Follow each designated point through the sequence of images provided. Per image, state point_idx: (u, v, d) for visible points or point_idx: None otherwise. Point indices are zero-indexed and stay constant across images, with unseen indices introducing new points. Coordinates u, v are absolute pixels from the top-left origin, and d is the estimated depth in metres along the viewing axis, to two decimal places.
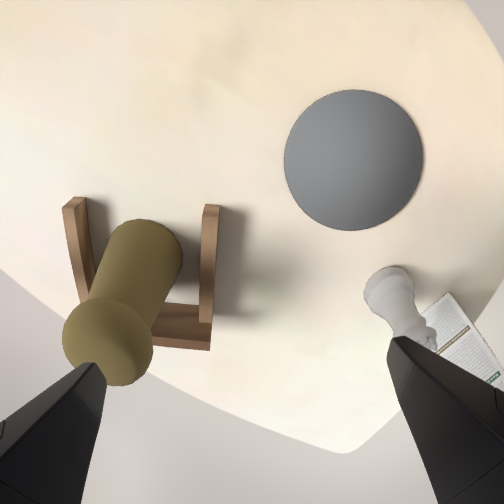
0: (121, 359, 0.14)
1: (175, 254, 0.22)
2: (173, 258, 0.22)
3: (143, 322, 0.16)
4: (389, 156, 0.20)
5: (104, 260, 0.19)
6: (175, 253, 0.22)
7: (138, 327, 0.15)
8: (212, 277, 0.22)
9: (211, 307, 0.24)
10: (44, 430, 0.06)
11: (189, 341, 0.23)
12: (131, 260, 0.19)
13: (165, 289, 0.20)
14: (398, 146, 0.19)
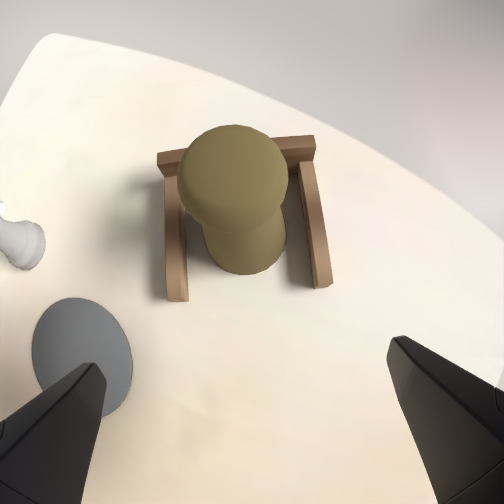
0: (196, 182, 0.13)
1: (207, 247, 0.22)
2: (207, 245, 0.22)
3: None
4: (56, 369, 0.21)
5: (270, 242, 0.19)
6: (208, 248, 0.22)
7: (191, 214, 0.15)
8: (166, 233, 0.22)
9: (165, 197, 0.23)
10: (44, 430, 0.06)
11: (177, 159, 0.21)
12: (236, 252, 0.19)
13: None
14: (53, 379, 0.21)
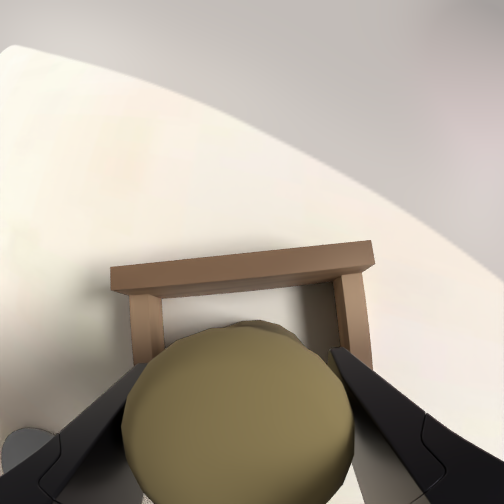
0: (163, 495, 0.05)
1: None
2: None
3: None
4: None
5: None
6: None
7: None
8: None
9: (132, 329, 0.14)
10: (108, 441, 0.05)
11: (142, 284, 0.13)
12: None
13: None
14: None
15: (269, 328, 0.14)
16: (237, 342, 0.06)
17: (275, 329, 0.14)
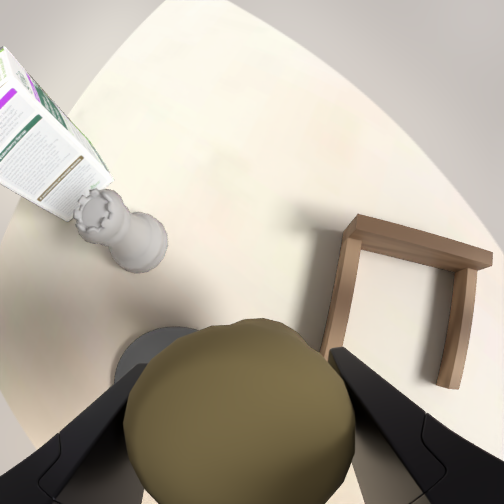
0: (164, 492, 0.05)
1: None
2: None
3: None
4: None
5: None
6: None
7: None
8: (337, 303, 0.20)
9: (345, 261, 0.20)
10: (108, 441, 0.05)
11: (379, 232, 0.19)
12: None
13: None
14: None
15: (272, 326, 0.14)
16: (238, 339, 0.06)
17: (278, 327, 0.14)
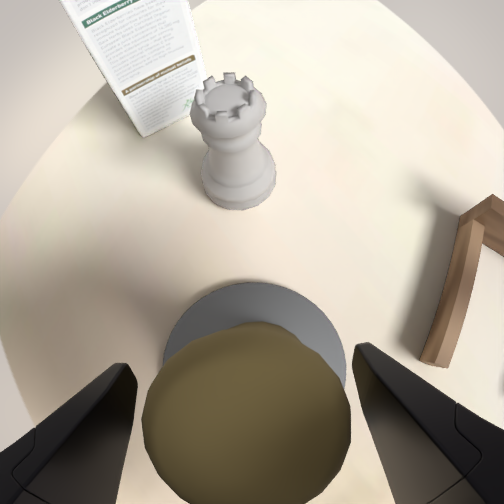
0: (181, 480, 0.05)
1: None
2: None
3: None
4: None
5: None
6: None
7: None
8: (461, 286, 0.15)
9: (470, 243, 0.16)
10: (80, 437, 0.05)
11: None
12: None
13: None
14: None
15: (272, 329, 0.14)
16: (248, 342, 0.07)
17: (277, 330, 0.14)
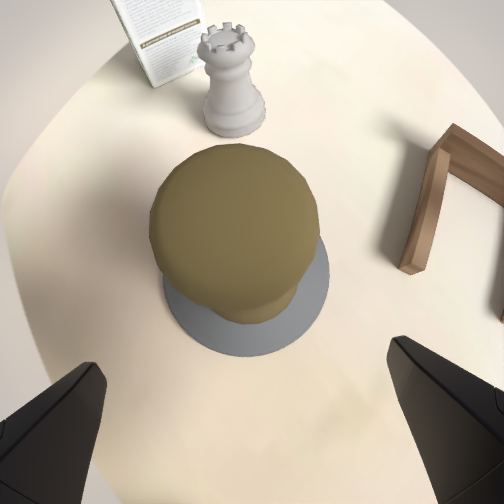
0: (177, 244, 0.08)
1: None
2: None
3: None
4: None
5: (282, 297, 0.15)
6: None
7: (172, 283, 0.10)
8: (430, 199, 0.18)
9: (436, 165, 0.19)
10: (44, 430, 0.06)
11: (469, 142, 0.17)
12: (237, 311, 0.14)
13: None
14: None
15: None
16: None
17: None
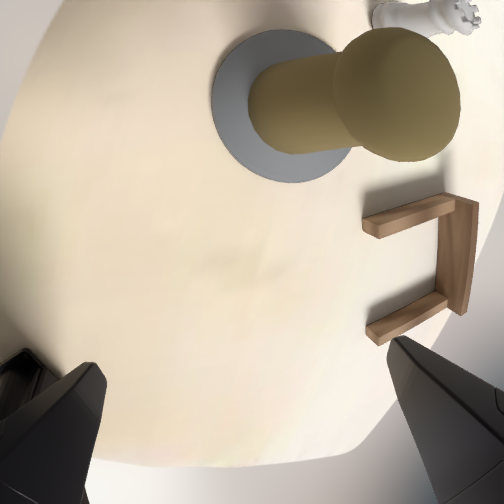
0: (398, 66, 0.08)
1: (262, 80, 0.16)
2: (266, 79, 0.15)
3: (336, 66, 0.09)
4: None
5: (322, 148, 0.15)
6: (261, 81, 0.16)
7: (343, 68, 0.09)
8: (422, 212, 0.22)
9: (443, 204, 0.22)
10: (44, 430, 0.06)
11: (472, 222, 0.22)
12: (295, 122, 0.14)
13: (298, 64, 0.13)
14: (258, 66, 0.17)
15: None
16: None
17: None
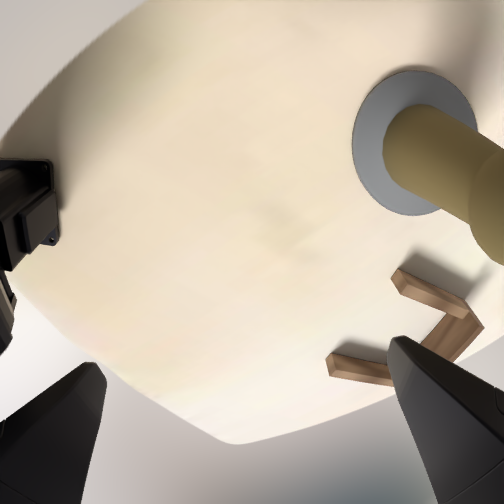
0: None
1: (419, 111, 0.15)
2: (424, 113, 0.15)
3: (497, 154, 0.09)
4: None
5: (427, 196, 0.15)
6: (418, 111, 0.16)
7: (502, 161, 0.09)
8: (442, 300, 0.23)
9: (459, 307, 0.23)
10: (44, 430, 0.06)
11: (469, 338, 0.23)
12: (427, 162, 0.14)
13: (459, 124, 0.13)
14: (422, 98, 0.16)
15: None
16: None
17: None
